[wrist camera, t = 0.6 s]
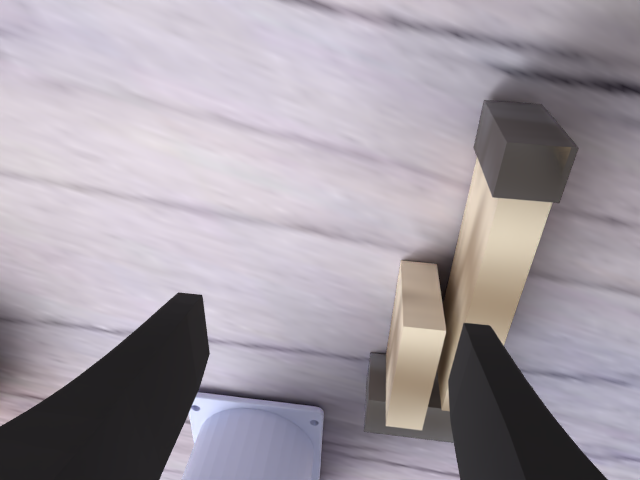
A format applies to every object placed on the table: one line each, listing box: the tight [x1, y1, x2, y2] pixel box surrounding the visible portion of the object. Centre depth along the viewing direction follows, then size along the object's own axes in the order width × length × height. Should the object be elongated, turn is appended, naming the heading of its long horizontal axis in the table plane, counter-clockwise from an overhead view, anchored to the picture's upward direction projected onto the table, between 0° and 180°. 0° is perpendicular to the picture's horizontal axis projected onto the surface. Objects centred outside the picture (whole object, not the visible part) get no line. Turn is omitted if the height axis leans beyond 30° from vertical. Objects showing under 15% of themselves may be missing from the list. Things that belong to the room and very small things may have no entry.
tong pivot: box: [364, 260, 454, 443], centre depth 22 cm, size 8×6×4 cm, turn 178°
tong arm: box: [437, 100, 578, 411], centre depth 19 cm, size 12×2×4 cm, turn 178°
